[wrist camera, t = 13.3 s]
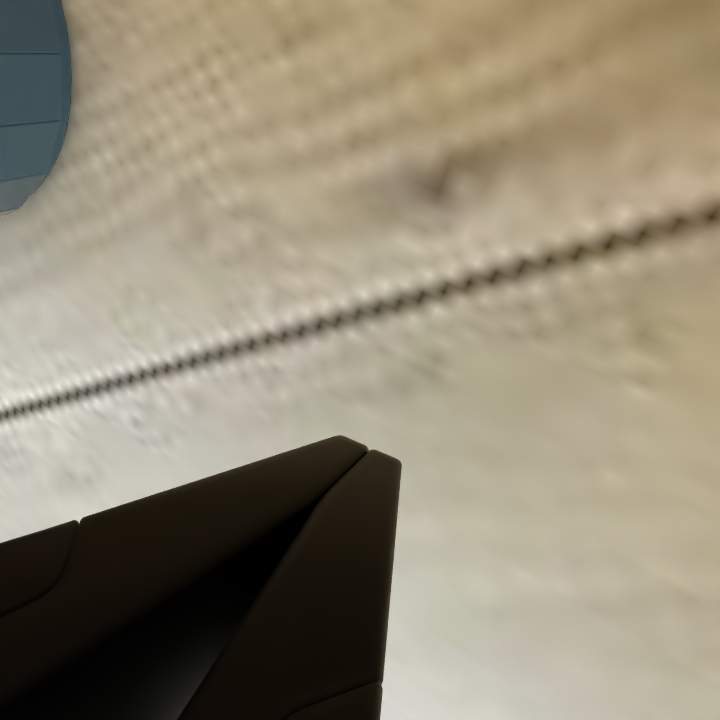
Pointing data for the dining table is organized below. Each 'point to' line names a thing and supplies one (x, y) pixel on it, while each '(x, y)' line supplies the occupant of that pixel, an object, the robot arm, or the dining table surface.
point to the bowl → (31, 95)
